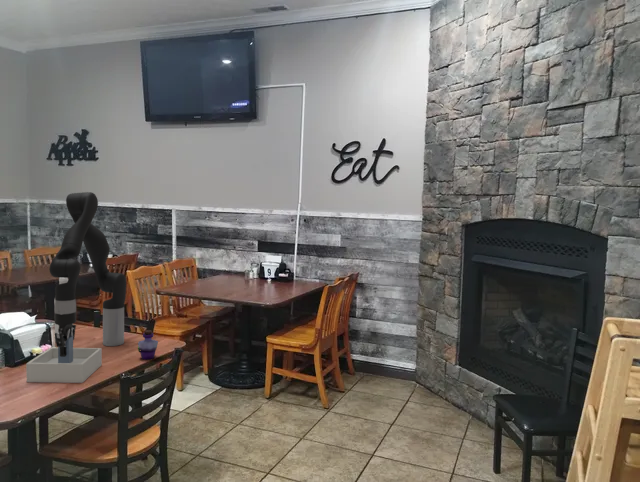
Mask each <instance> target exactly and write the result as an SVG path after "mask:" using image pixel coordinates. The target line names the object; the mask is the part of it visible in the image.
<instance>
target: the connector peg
mask: <svg viewBox="0 0 640 482" xmlns="http://www.w3.org/2000/svg"><path fill="white" fill-rule="evenodd" d="M63 339H65V338H63ZM57 348H58V363H71V362H73V348H74V340H73V336H69V338H68V341H67V345H66V356H65V357H61V356H60V347H57Z"/></svg>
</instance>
